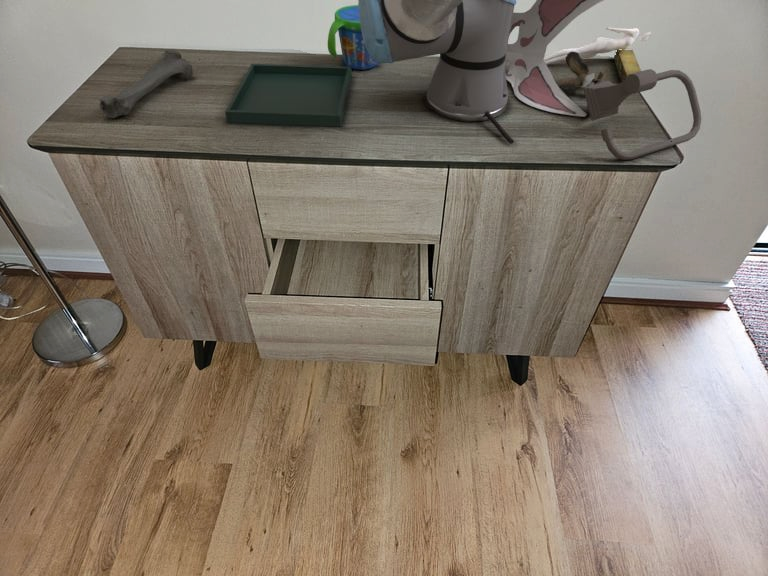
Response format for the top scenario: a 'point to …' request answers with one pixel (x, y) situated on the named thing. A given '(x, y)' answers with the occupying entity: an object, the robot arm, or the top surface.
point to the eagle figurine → (579, 73)
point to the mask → (541, 54)
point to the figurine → (599, 45)
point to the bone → (146, 83)
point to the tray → (291, 95)
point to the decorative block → (626, 63)
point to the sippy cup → (350, 39)
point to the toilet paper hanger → (610, 96)
